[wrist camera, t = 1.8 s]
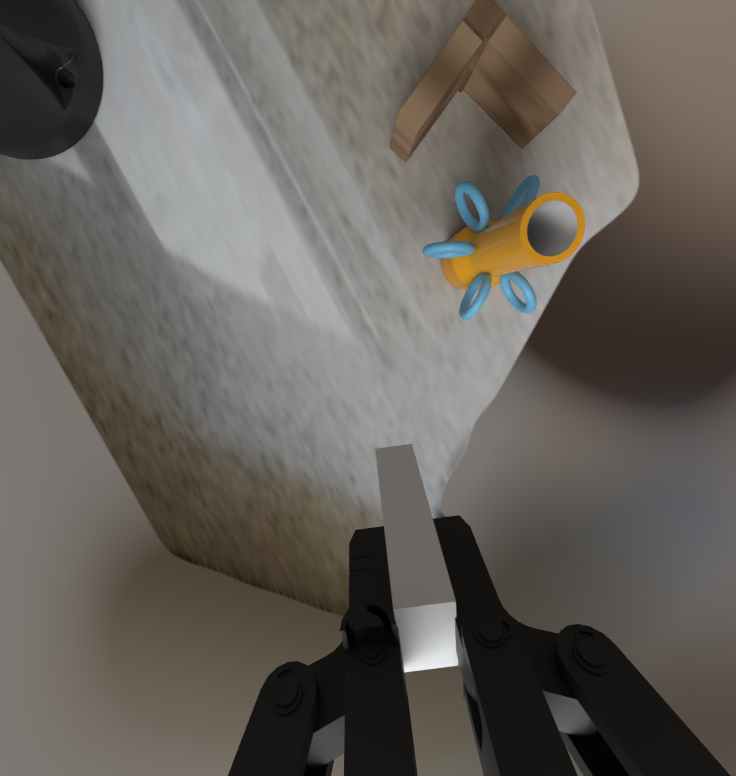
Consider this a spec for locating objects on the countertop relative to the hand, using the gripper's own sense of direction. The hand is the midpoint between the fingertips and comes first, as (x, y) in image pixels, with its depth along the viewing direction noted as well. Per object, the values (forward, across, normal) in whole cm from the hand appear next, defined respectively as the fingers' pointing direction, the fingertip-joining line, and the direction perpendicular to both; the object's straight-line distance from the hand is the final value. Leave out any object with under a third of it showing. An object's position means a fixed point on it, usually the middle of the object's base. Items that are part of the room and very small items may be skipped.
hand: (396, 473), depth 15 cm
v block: (+28, +11, +18) cm, 36 cm away
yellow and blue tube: (+26, +11, +5) cm, 28 cm away
